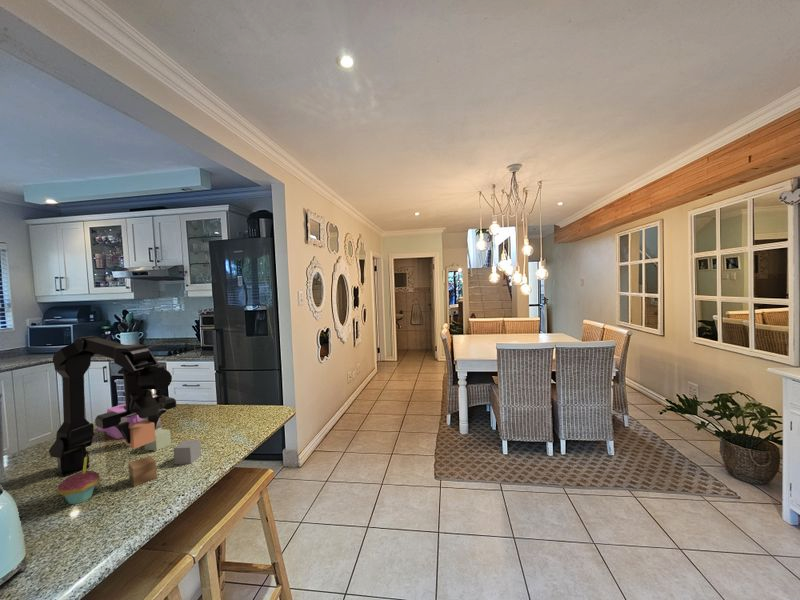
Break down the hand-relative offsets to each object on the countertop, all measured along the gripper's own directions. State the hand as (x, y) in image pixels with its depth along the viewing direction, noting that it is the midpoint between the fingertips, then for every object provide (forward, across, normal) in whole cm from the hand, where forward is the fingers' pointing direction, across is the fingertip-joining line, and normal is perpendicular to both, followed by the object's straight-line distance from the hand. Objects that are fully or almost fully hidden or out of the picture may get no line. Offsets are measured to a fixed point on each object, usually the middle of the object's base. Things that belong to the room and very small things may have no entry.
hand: (140, 439), depth 102 cm
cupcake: (+13, -13, +5) cm, 19 cm away
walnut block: (+13, 0, 0) cm, 13 cm away
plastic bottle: (+13, +15, +28) cm, 34 cm away
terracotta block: (+1, 0, 0) cm, 1 cm away
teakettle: (+13, +16, +48) cm, 52 cm away
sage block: (+13, +13, +20) cm, 27 cm away
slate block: (+13, +13, 0) cm, 18 cm away
